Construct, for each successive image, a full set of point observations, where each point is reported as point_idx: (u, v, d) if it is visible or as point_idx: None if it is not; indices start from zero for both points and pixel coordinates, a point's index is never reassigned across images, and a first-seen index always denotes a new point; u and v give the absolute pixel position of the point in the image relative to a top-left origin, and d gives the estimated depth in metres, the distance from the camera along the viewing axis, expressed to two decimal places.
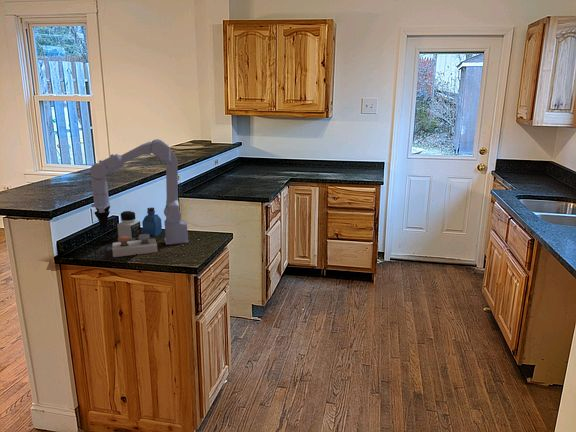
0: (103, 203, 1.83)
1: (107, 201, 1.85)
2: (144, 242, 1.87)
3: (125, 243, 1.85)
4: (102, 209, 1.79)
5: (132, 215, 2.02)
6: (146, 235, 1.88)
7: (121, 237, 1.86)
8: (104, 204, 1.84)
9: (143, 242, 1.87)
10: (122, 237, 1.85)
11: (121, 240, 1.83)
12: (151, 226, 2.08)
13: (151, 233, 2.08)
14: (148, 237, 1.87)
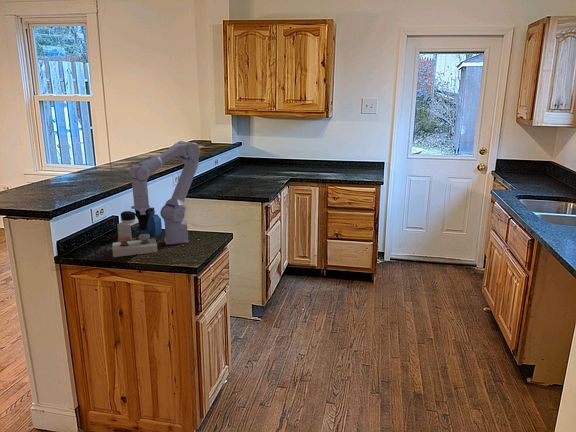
0: (143, 205, 1.82)
1: (147, 203, 1.84)
2: (144, 242, 1.87)
3: (125, 243, 1.85)
4: (143, 211, 1.78)
5: (132, 215, 2.02)
6: (146, 235, 1.88)
7: (121, 237, 1.86)
8: (144, 206, 1.83)
9: (143, 242, 1.87)
10: (122, 237, 1.85)
11: (121, 240, 1.83)
12: (151, 226, 2.08)
13: (151, 233, 2.08)
14: (148, 237, 1.87)
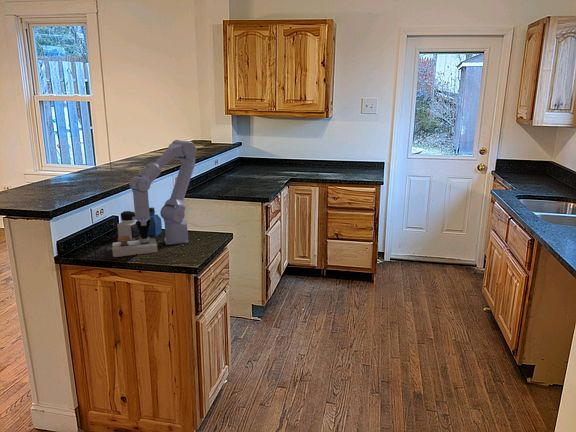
0: (144, 216, 1.83)
1: (148, 214, 1.85)
2: None
3: (125, 243, 1.85)
4: (144, 222, 1.79)
5: (132, 215, 2.02)
6: None
7: (121, 237, 1.86)
8: (145, 217, 1.84)
9: None
10: (122, 237, 1.85)
11: (121, 240, 1.83)
12: (151, 226, 2.08)
13: (151, 233, 2.08)
14: (148, 240, 1.87)
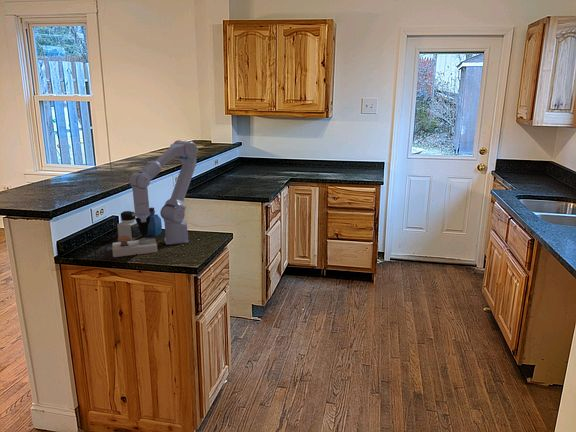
0: (144, 213, 1.83)
1: (148, 210, 1.84)
2: None
3: (125, 243, 1.85)
4: (144, 219, 1.79)
5: None
6: (146, 239, 1.88)
7: (121, 237, 1.86)
8: (145, 213, 1.83)
9: None
10: (122, 237, 1.85)
11: (121, 240, 1.83)
12: (151, 226, 2.08)
13: (151, 233, 2.08)
14: (148, 241, 1.88)
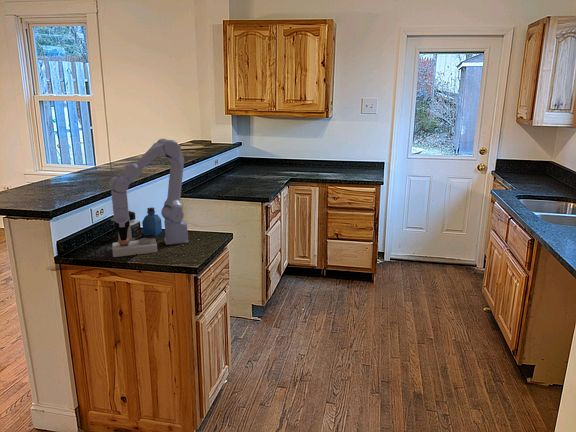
0: (123, 217, 1.81)
1: (127, 215, 1.82)
2: None
3: (125, 245, 1.85)
4: (122, 224, 1.77)
5: (132, 215, 2.02)
6: (146, 239, 1.88)
7: None
8: (124, 218, 1.81)
9: None
10: None
11: (121, 242, 1.83)
12: (151, 226, 2.08)
13: (151, 233, 2.08)
14: (148, 241, 1.88)
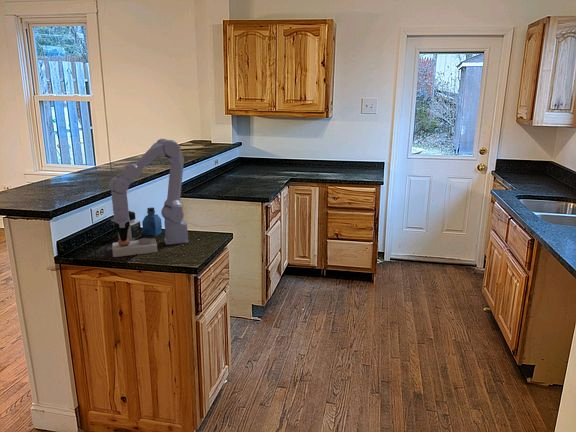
0: (123, 218, 1.81)
1: (127, 215, 1.82)
2: None
3: None
4: (123, 224, 1.77)
5: (132, 215, 2.02)
6: (146, 239, 1.88)
7: None
8: (124, 219, 1.81)
9: None
10: None
11: (121, 243, 1.84)
12: (151, 226, 2.08)
13: (151, 233, 2.08)
14: (148, 241, 1.88)
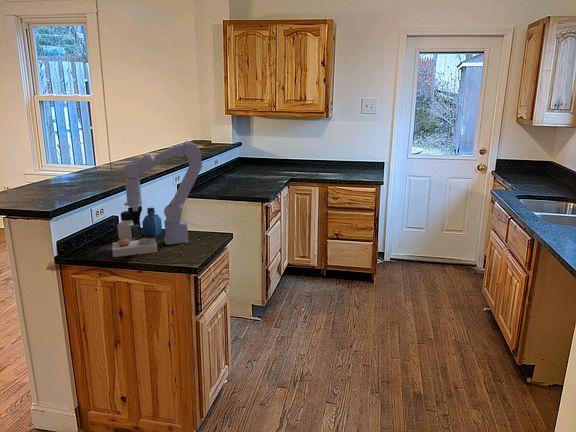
0: (136, 202, 1.88)
1: (140, 200, 1.89)
2: None
3: None
4: (136, 208, 1.84)
5: None
6: (146, 239, 1.88)
7: (121, 240, 1.86)
8: (137, 203, 1.88)
9: None
10: (122, 240, 1.86)
11: (121, 243, 1.84)
12: (151, 226, 2.08)
13: (151, 233, 2.08)
14: (148, 241, 1.88)
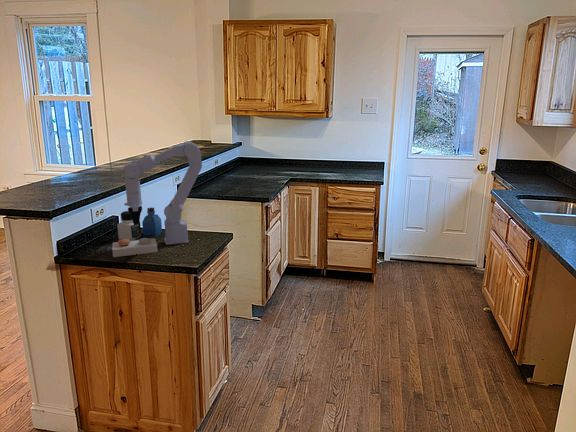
0: (136, 202, 1.88)
1: (140, 200, 1.89)
2: None
3: None
4: (136, 208, 1.84)
5: None
6: (146, 239, 1.88)
7: (121, 240, 1.86)
8: (137, 203, 1.88)
9: None
10: (122, 240, 1.86)
11: (121, 243, 1.84)
12: (151, 226, 2.08)
13: (151, 233, 2.08)
14: (148, 241, 1.88)
